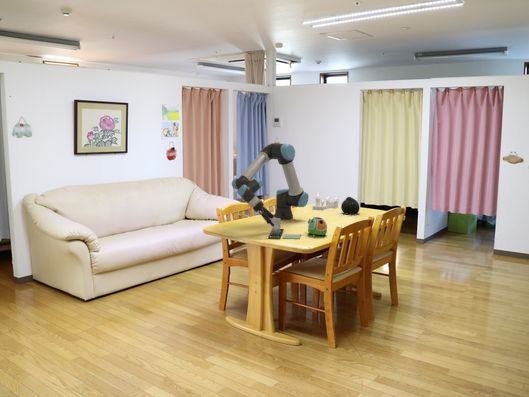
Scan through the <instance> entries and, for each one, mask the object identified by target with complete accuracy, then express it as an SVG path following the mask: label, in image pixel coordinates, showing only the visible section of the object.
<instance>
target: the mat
mask: <svg viewBox="0 0 529 397" xmlns="http://www.w3.org/2000/svg"><path fill="white" fill-rule="evenodd" d="M301 236H302V235H301V234H293V233H292V234H290V233H289V234H288V233H285V234H284V233H283V237H282V239H283V240H300V239H301Z"/></svg>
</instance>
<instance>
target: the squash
mask: <svg viewBox="0 0 529 397" xmlns="http://www.w3.org/2000/svg"><path fill="white" fill-rule="evenodd" d="M340 209H341V211H342V213H343V214H345V215H357V214H359V212H360V203H359V202H358V201H357V200H356V199H355V198H353V197H351V196H347V197H346V198H345V199H344V200H343V201H342V202H341V205H340Z"/></svg>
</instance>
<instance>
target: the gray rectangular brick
mask: <svg viewBox="0 0 529 397" xmlns="http://www.w3.org/2000/svg"><path fill="white" fill-rule="evenodd" d="M271 221H273V222H274V223H275V224H276V225H277V226H278V227H279V228H278V229H277V230H275V229H274V228H273V227H272V226H271V230H272V234H280V232H281V231H280V229H281V224H280V223H281V219H280V218H273V219H272V220H271Z"/></svg>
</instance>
